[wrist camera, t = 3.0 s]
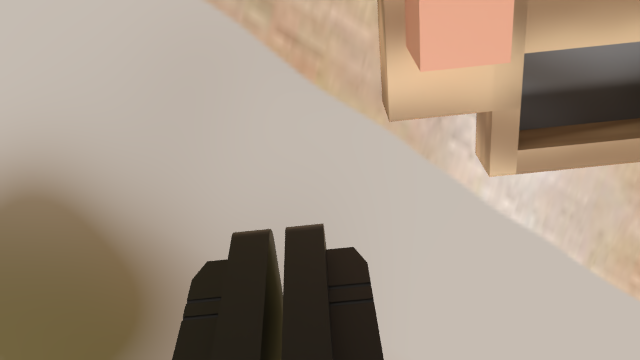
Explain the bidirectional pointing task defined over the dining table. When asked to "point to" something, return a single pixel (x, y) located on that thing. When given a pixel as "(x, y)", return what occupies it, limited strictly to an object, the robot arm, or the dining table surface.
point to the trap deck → (533, 86)
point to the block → (458, 33)
